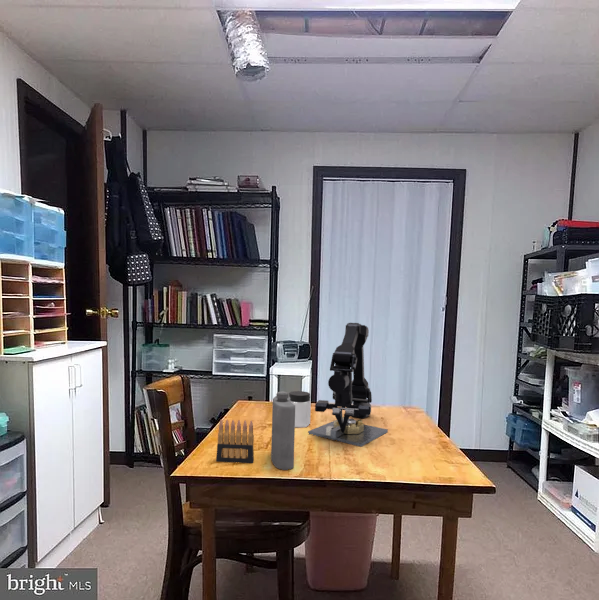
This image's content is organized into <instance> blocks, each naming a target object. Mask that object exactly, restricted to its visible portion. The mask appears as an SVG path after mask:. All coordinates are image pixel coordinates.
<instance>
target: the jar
mask: <svg viewBox="0 0 599 600" xmlns="http://www.w3.org/2000/svg"><path fill="white" fill-rule="evenodd" d="M288 396H289V397H290V402H291V403H293V404H294V405H295V428H307V427H308V426H310V425H311V411H312V410H311V406H312V403H311V402H312V401H311V393H310V392H309V391H301V390H297V391H293V390H292V391H290V392H289V393H288ZM309 424H310V425H309Z"/></svg>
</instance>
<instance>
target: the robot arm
mask: <svg viewBox="0 0 599 600" xmlns="http://www.w3.org/2000/svg"><path fill="white" fill-rule="evenodd" d="M368 337H369V327H368V326H367V325H365V324H361V323H359V322H348V323H346V325H345V331H344V337H343V338H342V342H341V344H340V345H339V346H336V348H335V350H334V352H333V353H332V356H331V361H330V367H329V371H330V372H332V371H333V374H332V375H331V376H330V377H329V379H328V380H327V381H328V383H327V385H328V388H329V389H330V390H331V392H332V400H334V403H330V402H329V400H325V399H323V400H321V399H319V400H318V401H316V403H315V405H314V412H317V413H324V412H325V411H327V410H332V413H331V415H332V416H335V420H337V421H338V423H339V426H340V429H341V432H342V433H344V430H345V427H346V424H347V421H348V419H350V417H353V418H358V419H361V420H362V419H366V418H369V417H370V416H371V413H372V402H373V399H372V398H373V397H372V396H373V395H372V392H371V388H370V387H369V382H368V381H367V379H366V378H365V359H364V358H365V354H364V346H365V344H366V342H367V340H368ZM343 411H344V414H343ZM343 417H344V420H343Z"/></svg>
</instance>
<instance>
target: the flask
mask: <svg viewBox="0 0 599 600" xmlns="http://www.w3.org/2000/svg"><path fill="white" fill-rule="evenodd" d="M271 414H272V415H271V417H272V419H271V444H270V445H271V450H270V459H271V462H272V464H273V465H274V467H275V468H277V469H279V470H281V469H282V470H283V471H288V469H290V470H292V469H293V468H294V463H295V435H296V434H295V432H296V431H295V430H296V427H295V405H294V404H293V403H291V402H290V397H289V393H288V392H287V391H282V390H281V391H278V392H276V396H273V398H272V413H271Z"/></svg>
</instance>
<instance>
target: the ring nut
mask: <svg viewBox="0 0 599 600" xmlns="http://www.w3.org/2000/svg"><path fill="white" fill-rule="evenodd" d="M342 417H343V419H344V416H342ZM355 420H356V424H355V423H350V425H349V426H348V425H346V427H345V430H344V433H342V432H341V429H340V426H339V423H338V421H337V419H334V420H333V421H334V429H332V430H331V435H330V437H331V438H335V439H336V438H338V437H340V436H341V435H343V434H359V433H361V432H363V431H364V425H365V424H364V423H363V420H362V419H355Z"/></svg>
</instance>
